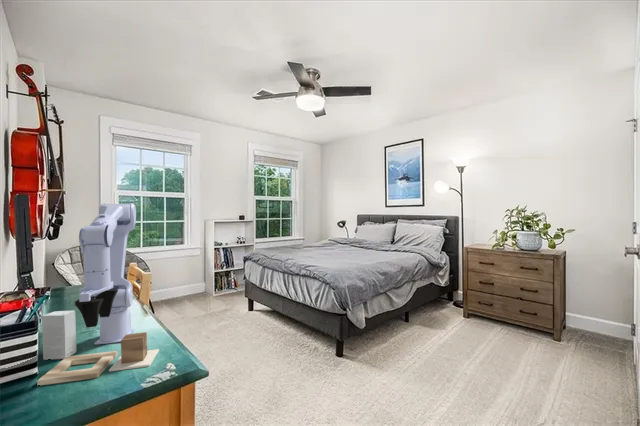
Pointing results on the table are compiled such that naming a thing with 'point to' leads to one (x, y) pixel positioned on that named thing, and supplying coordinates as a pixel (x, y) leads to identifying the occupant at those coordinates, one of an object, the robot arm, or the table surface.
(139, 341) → the walnut block
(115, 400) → the table surface
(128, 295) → the robot arm
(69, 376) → the board
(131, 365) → the tile
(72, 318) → the skincare box
